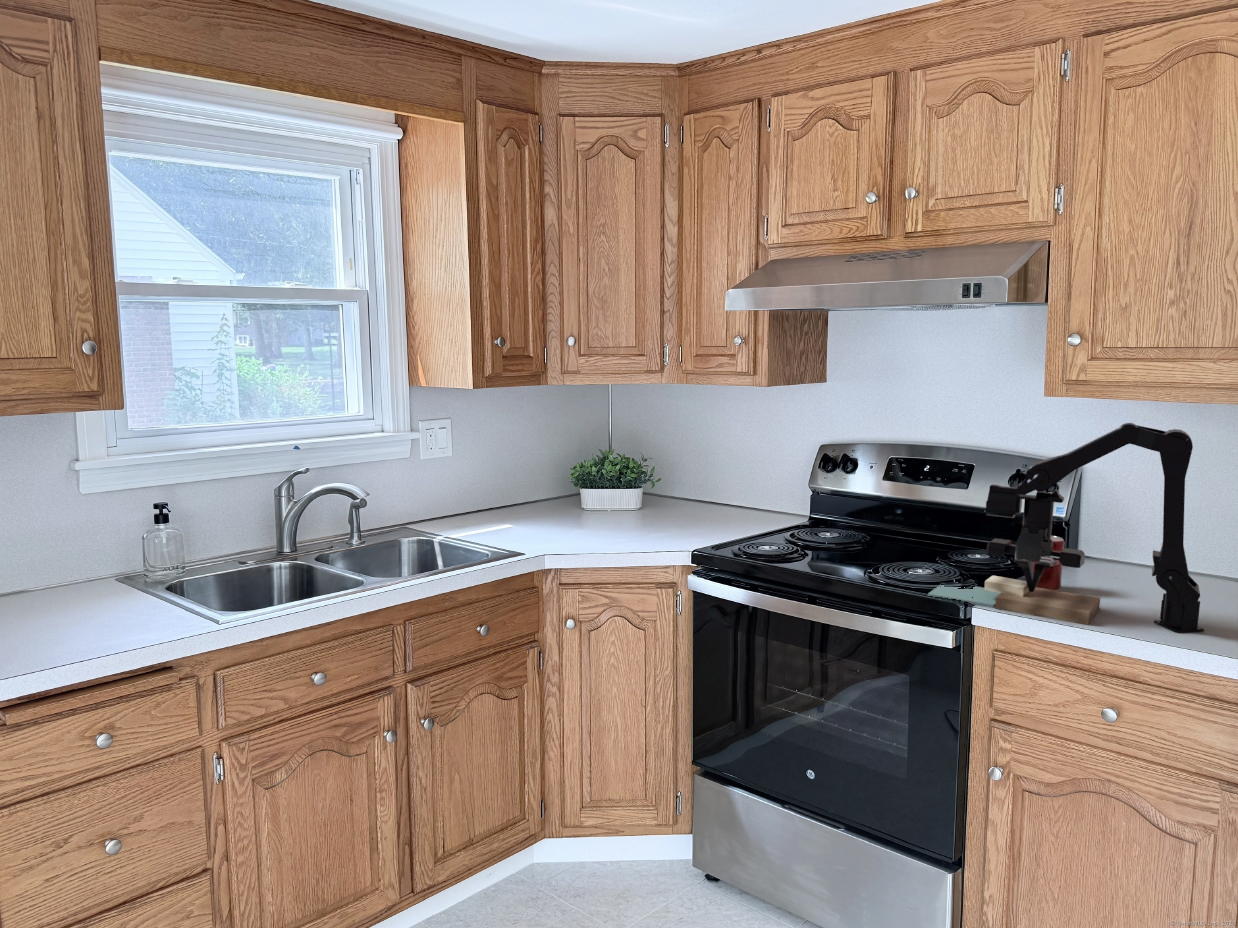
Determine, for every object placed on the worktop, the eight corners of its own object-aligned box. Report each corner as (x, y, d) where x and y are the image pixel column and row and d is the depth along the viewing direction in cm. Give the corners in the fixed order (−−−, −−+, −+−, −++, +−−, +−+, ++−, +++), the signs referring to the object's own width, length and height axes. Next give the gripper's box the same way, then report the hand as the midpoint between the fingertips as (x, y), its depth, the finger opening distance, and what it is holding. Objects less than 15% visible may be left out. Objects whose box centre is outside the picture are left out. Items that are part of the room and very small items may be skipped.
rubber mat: (1008, 594, 211) (1008, 591, 211) (993, 607, 200) (993, 604, 200) (945, 583, 219) (945, 581, 219) (927, 596, 209) (927, 593, 208)
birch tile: (1029, 590, 205) (1030, 581, 205) (1022, 596, 200) (1023, 587, 200) (991, 583, 210) (992, 575, 209) (984, 589, 205) (984, 580, 205)
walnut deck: (1099, 608, 201) (1100, 597, 200) (1087, 624, 189) (1088, 612, 189) (1011, 594, 211) (1011, 583, 211) (995, 608, 200) (995, 597, 199)
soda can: (1031, 582, 221) (1035, 532, 220) (1064, 588, 217) (1068, 537, 215) (1022, 588, 216) (1026, 537, 214) (1055, 594, 211) (1059, 542, 210)
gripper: (982, 520, 198) (976, 591, 201) (1078, 533, 188) (1071, 608, 190) (995, 512, 207) (990, 581, 210) (1088, 524, 197) (1081, 596, 199)
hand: (1031, 591), depth 202 cm, fingers closed
